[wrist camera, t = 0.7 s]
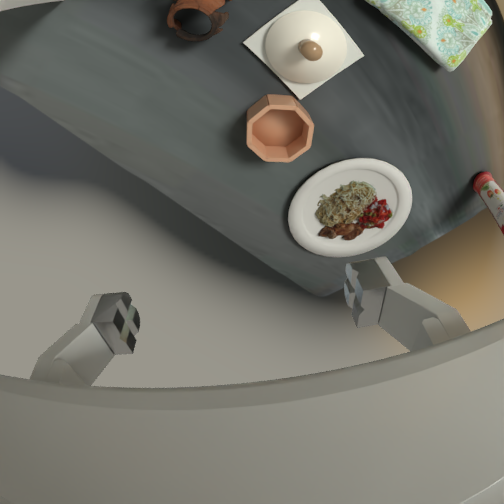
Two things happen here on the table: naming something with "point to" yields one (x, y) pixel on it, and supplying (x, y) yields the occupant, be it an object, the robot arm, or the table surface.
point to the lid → (305, 46)
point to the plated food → (350, 207)
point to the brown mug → (206, 3)
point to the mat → (311, 3)
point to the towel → (440, 25)
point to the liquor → (491, 196)
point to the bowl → (278, 128)
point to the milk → (20, 3)
